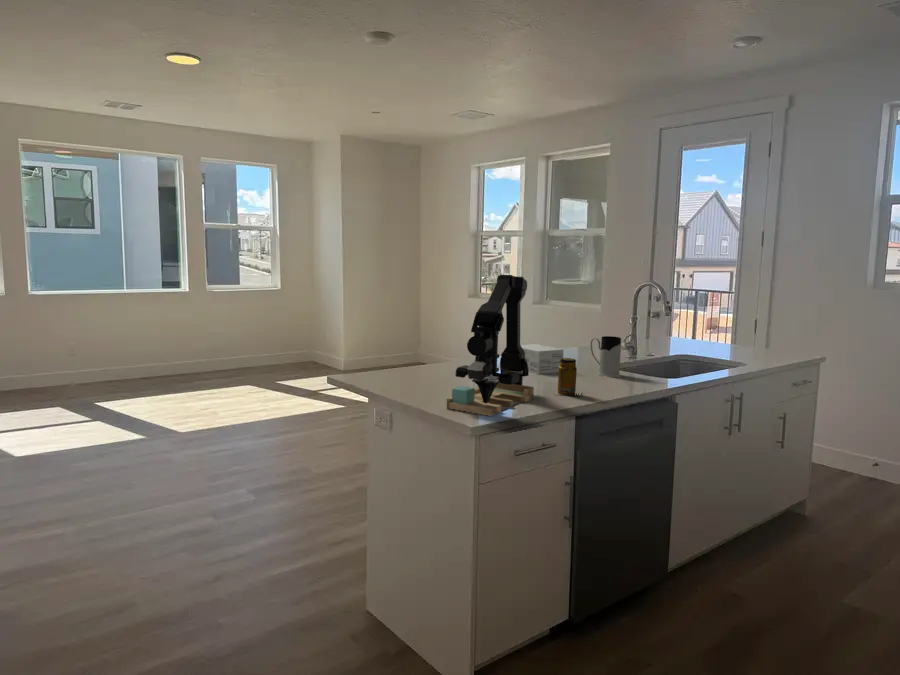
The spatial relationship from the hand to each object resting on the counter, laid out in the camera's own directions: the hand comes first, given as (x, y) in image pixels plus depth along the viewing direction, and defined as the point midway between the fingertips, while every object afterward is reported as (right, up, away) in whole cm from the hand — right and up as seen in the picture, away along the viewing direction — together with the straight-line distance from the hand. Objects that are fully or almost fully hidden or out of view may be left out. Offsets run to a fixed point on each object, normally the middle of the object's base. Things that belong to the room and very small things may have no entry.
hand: (485, 403), depth 190 cm
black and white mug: (+51, +5, +66) cm, 83 cm away
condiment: (+30, 0, +28) cm, 41 cm away
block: (-7, 0, +4) cm, 8 cm away
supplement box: (+25, +6, +72) cm, 76 cm away
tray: (+2, -1, +11) cm, 11 cm away
